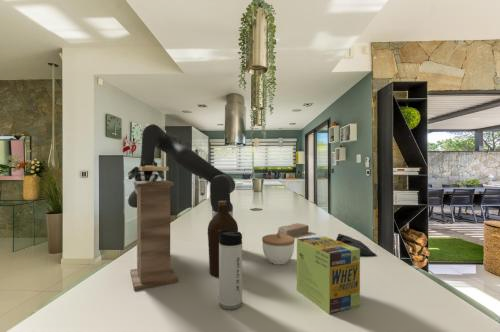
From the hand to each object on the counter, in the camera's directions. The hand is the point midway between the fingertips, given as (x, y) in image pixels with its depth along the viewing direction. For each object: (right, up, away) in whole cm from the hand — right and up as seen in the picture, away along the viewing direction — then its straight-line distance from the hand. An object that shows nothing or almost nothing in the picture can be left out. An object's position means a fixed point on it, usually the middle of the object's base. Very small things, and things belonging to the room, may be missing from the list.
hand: (149, 163), depth 100 cm
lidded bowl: (+47, -38, +8) cm, 62 cm away
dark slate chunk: (+82, -39, +25) cm, 94 cm away
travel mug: (+31, -39, -25) cm, 55 cm away
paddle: (+2, -2, -4) cm, 5 cm away
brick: (+60, -39, +52) cm, 88 cm away
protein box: (+58, -39, -21) cm, 73 cm away
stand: (+4, -38, -7) cm, 39 cm away
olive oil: (+27, -38, -3) cm, 47 cm away
